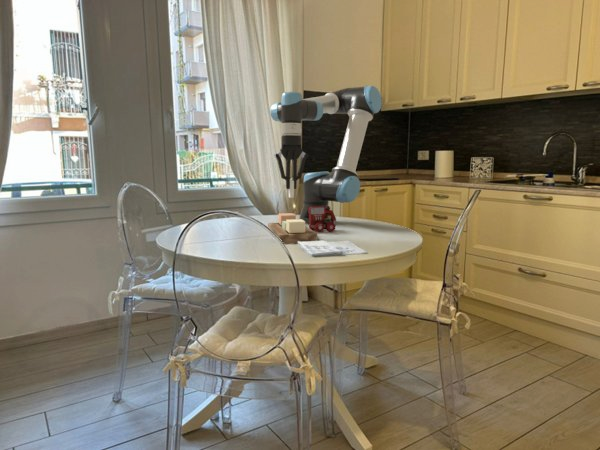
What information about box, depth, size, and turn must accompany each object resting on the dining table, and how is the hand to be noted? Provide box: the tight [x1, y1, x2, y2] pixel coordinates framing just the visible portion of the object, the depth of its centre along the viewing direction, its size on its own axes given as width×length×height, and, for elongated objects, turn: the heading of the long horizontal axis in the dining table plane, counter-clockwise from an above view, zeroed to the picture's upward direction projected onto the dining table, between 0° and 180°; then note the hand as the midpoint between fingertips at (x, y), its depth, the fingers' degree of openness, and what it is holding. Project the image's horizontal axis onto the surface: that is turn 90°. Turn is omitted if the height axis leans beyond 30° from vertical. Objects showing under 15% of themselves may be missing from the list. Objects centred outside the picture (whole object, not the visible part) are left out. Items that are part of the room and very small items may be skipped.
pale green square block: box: [282, 221, 286, 230], centre depth 169 cm, size 6×6×4 cm
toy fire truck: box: [308, 205, 337, 234], centre depth 179 cm, size 7×12×10 cm, turn 113°
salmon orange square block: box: [277, 212, 297, 226], centre depth 176 cm, size 6×6×4 cm
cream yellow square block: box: [286, 218, 306, 233], centre depth 161 cm, size 6×6×4 cm
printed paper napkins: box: [297, 239, 368, 257], centre depth 147 cm, size 19×20×2 cm
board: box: [267, 221, 318, 244], centre depth 169 cm, size 14×26×3 cm, turn 13°
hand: (291, 197), depth 167 cm, fingers closed
